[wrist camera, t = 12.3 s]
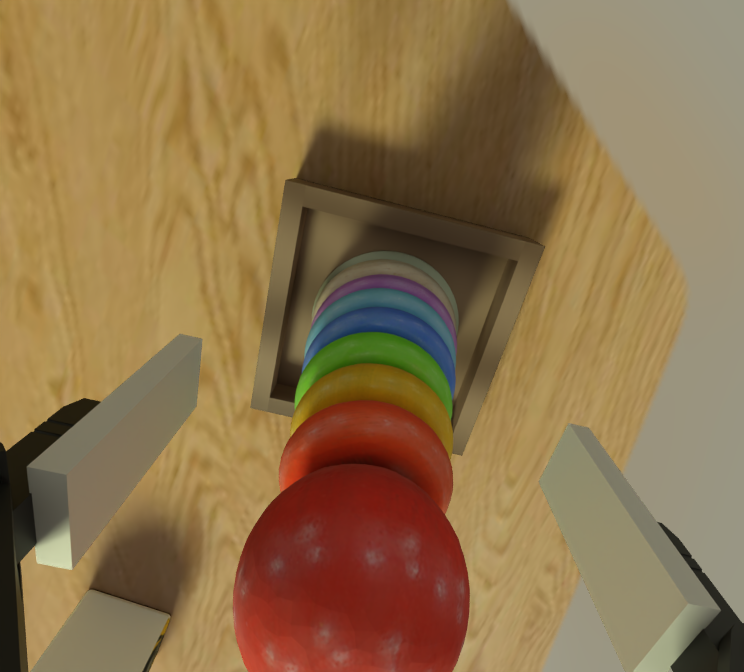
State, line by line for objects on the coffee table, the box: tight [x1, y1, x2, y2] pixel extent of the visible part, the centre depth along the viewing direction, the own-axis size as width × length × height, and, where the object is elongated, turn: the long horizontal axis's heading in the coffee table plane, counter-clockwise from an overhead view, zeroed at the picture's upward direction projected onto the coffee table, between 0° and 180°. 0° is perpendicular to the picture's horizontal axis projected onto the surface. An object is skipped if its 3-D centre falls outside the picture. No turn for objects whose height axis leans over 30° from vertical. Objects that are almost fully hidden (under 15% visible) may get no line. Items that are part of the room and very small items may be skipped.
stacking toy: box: [233, 259, 470, 672], centre depth 16 cm, size 8×8×19 cm
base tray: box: [250, 178, 545, 456], centre depth 24 cm, size 13×13×2 cm
